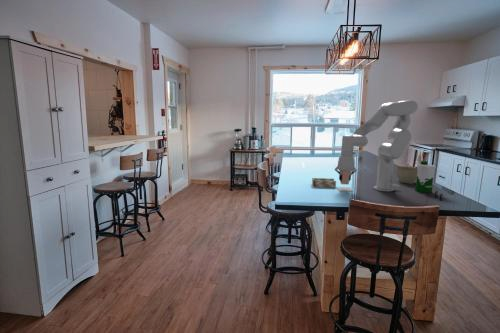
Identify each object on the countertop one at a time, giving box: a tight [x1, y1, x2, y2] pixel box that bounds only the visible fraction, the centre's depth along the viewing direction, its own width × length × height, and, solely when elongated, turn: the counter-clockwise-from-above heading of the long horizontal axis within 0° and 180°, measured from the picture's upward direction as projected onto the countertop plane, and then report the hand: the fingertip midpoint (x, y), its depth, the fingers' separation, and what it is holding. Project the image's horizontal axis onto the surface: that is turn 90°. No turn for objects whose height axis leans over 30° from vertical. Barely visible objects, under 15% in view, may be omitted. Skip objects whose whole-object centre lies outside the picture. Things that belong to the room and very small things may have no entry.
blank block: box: [339, 171, 350, 185], centre depth 195 cm, size 4×4×9 cm
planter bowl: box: [395, 165, 418, 184], centre depth 219 cm, size 16×16×11 cm
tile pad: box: [336, 186, 354, 193], centre depth 197 cm, size 9×9×1 cm
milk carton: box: [414, 160, 437, 194], centre depth 193 cm, size 9×9×20 cm
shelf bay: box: [311, 177, 337, 189], centre depth 206 cm, size 15×8×4 cm, turn 84°
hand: (344, 180), depth 195 cm, fingers closed on blank block, 4 cm apart
